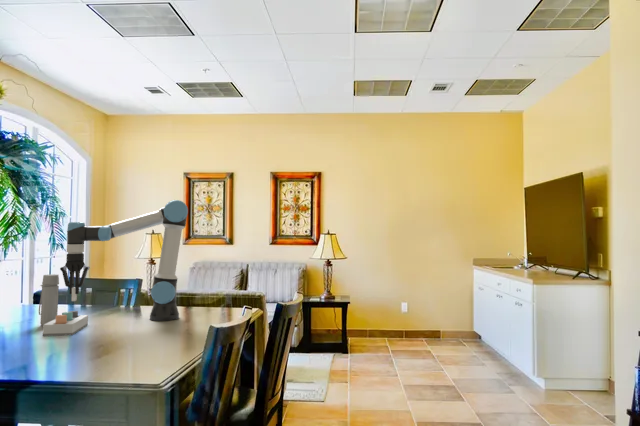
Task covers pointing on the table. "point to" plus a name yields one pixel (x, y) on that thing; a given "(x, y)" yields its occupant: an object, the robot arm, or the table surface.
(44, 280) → the water bottle
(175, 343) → the table surface
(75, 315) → the button charcoal
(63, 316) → the button terracotta
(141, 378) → the table surface
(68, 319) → the button teal
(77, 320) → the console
